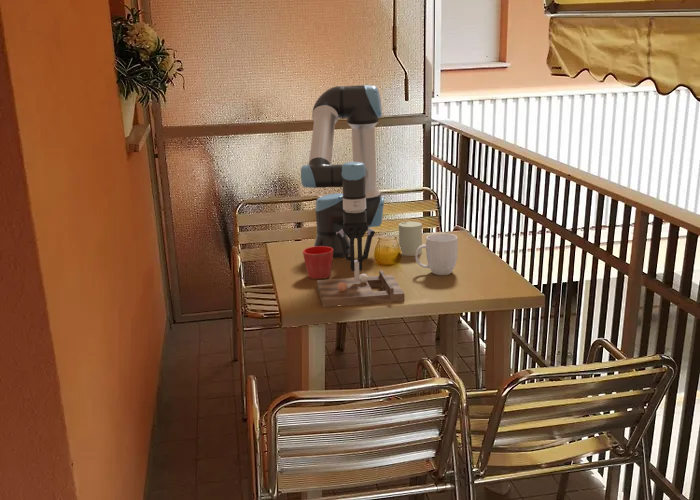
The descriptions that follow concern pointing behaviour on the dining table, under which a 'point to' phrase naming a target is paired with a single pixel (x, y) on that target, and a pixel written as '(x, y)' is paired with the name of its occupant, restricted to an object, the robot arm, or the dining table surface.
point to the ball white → (363, 278)
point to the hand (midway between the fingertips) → (356, 279)
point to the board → (360, 291)
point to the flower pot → (318, 261)
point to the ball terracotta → (342, 286)
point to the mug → (440, 253)
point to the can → (410, 237)
